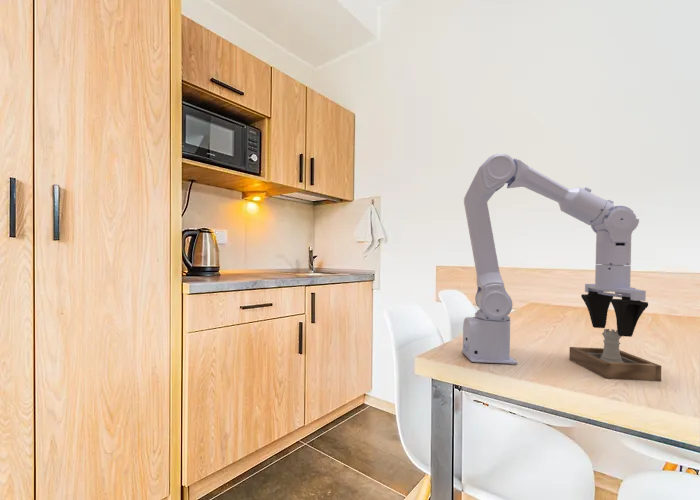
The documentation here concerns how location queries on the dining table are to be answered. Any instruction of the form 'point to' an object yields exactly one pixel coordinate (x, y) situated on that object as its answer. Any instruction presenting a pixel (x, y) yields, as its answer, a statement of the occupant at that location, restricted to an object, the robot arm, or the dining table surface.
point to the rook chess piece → (611, 346)
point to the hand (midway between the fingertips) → (611, 331)
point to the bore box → (615, 365)
